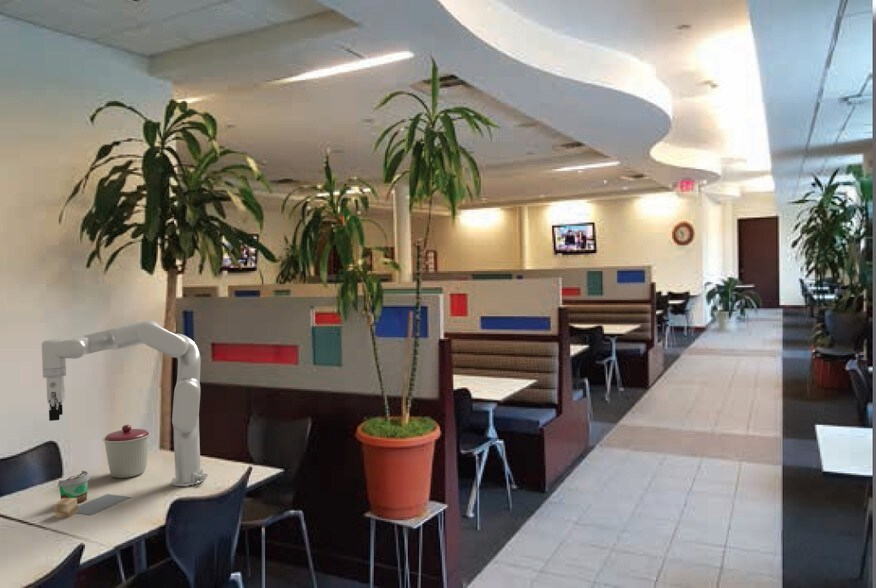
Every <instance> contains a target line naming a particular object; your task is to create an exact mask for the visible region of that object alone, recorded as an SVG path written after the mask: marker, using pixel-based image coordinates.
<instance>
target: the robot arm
mask: <svg viewBox="0 0 876 588" xmlns="http://www.w3.org/2000/svg"><path fill="white" fill-rule="evenodd" d="M143 344H144V345H146V346H148V347H150V348H151V349H154V350H156V351H158V352H160V353H162V354H163V355H166V356H168V357H171V358H177V378H176V384H175V387H174V391H173V403H172V418H171V422H172V427H173V447H174V448H173V451H174V474H175V476H174V477H175V478H173V479H172V480H171V481H170V482H171V483H170V484H171V485H172V486H173V485H174V487H177V486H185V487H190V486H189V485H192V486H195V485H194V484H196V485H199V484H201V483H203V482H204V481H205V480H207V477H208V473H204V472H203V471H204V470H203V469H202V468H201V449H200V448H201V446H200V441H201V440H200V416H199V415H200V405H201V404H200V403H201V384H200V381H201V365H202V363H201V360H202V359H201V354H200V350H199V348H198V345H197V344H196V343H195V341H194V340H192V339H191V338H190V337H188V336H187V335H185V334H181V333H173V332H171V331H170V330H167V329H166V328H163V327H162V326H161V325H160V324H159V323H158V322H157V321H155V320H151V319H150V320H143V321H139V322H136V323H135V322H134V323H130V324H127V325H121V326H117V327H112V328H109V329H106V330H103V331H98V332H93V333H90V334H89V333H88V334H83V335H80V336H76V337H73V338H71V339H67V340H66V339H65V340H63V339H62V338H61V339H59V338H58V339H57V338H55V339H53V338H52V339H47V340H46V339H45V340H43V341H42V342H41V360H42V364H41V365H42V367H41V368H42V378H43V379H46V381H45V382H46V399H47V404H48V405H49V408H48V418H49V419H48V420H49V422H50V421H51V422H52V421H59V420H60V418H61V417H60V416H62V415H63V403H64V402H65V400H66V393H65V391H66V390H65V379H64V377H65V376H67V360H66V359H72V360H73V359H79V358H82V357H84V356H85V355H89V354H93V353H99V352H102V351H107V350H109V351H110V350H122V349H123V350H124V349H126V348H130V347H135V346H140V345H143ZM202 481H203V482H202ZM200 482H201V483H200ZM198 483H199V484H198Z"/></svg>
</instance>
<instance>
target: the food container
mask: <svg viewBox="0 0 876 588" xmlns="http://www.w3.org/2000/svg"><path fill="white" fill-rule="evenodd" d="M90 478H91V477H90V474H89V471H87V470H81V473H80V474H77V475H73V476H69V477H68V478H67V479H63V480H58V483H57V487H58V488H59V495H60V500H61V499H63V498H77V504H78V505H79V504H80V505H81V504H83V503H84V502H86V501H87V499H88V481H89V480H90Z"/></svg>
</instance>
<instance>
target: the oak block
mask: <svg viewBox="0 0 876 588" xmlns="http://www.w3.org/2000/svg"><path fill="white" fill-rule="evenodd" d="M78 506H79V504H77V498H63V499H61V498H60V500H58V501H56V502H55V503H54V504H53V509H54V516H55V518H65V519H67V518H70V517H72V516H74V515H75V514H77V512H78Z"/></svg>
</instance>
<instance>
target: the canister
mask: <svg viewBox="0 0 876 588" xmlns="http://www.w3.org/2000/svg"><path fill="white" fill-rule="evenodd" d="M151 434H152V433H151V432H150V431H149V430H146V429H142V428H132V426H131V424H125V425H123V426H122V427H121V430H120V429H119V430H116V431H112V432H110V433H107V434H106V436H104V437H103V438H102V441H103V442H104V446H105V452H106V457H107V458H106V459H107V464H108V469H109V472H110V475H111V476H112V477H113V478H117V479H127V478H133V477H137V476H139V475H141V474H143V473H144V472H145V471H146V468H147V466H148V465H147V463H148V455H149V445H150V443H149V441H150V440H149V439H150V436H151Z"/></svg>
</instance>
